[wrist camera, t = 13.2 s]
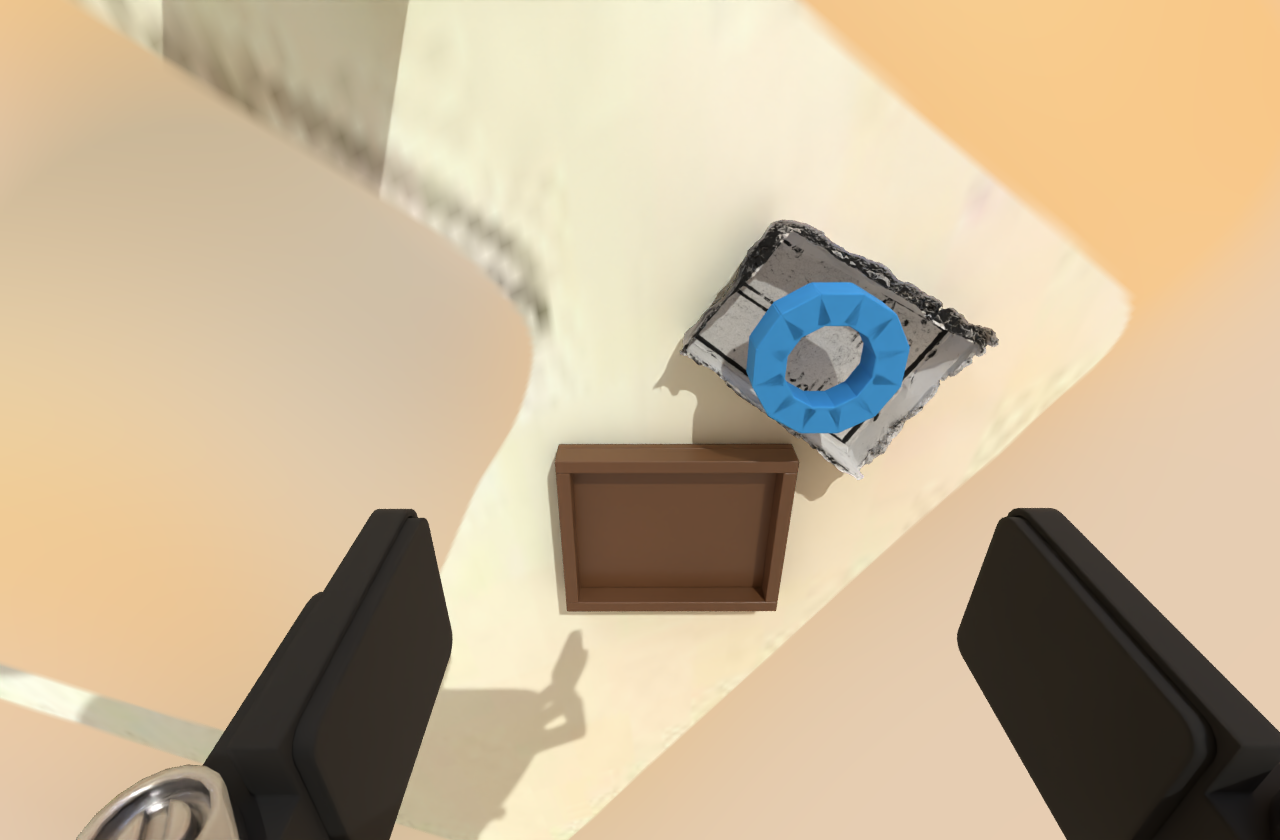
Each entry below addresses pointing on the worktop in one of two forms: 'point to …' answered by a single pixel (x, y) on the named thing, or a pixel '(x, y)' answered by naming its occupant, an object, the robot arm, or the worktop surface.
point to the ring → (863, 386)
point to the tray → (674, 525)
